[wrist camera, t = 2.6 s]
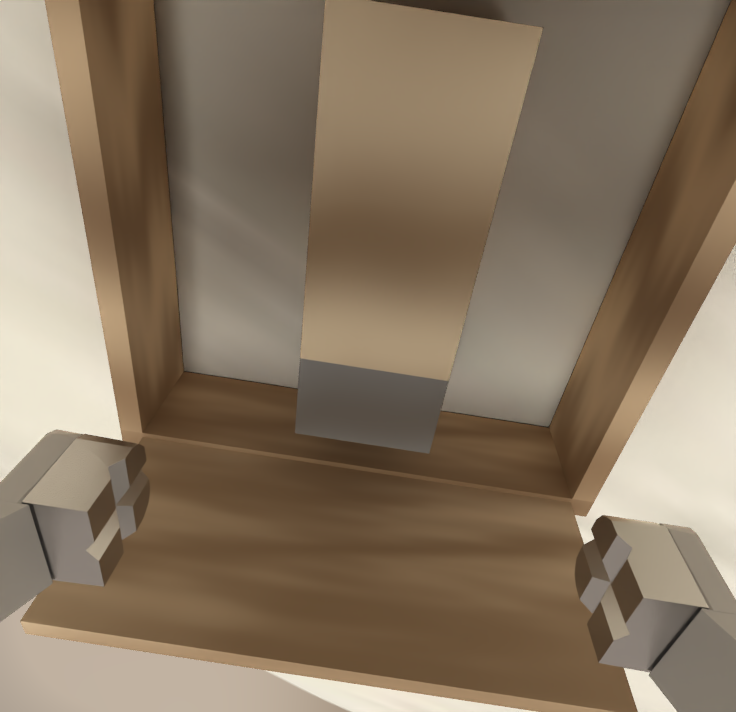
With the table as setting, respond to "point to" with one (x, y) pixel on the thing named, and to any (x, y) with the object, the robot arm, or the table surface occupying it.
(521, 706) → the wooden open box
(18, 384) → the table surface
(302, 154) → the table surface
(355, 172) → the block
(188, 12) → the table surface
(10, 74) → the table surface
